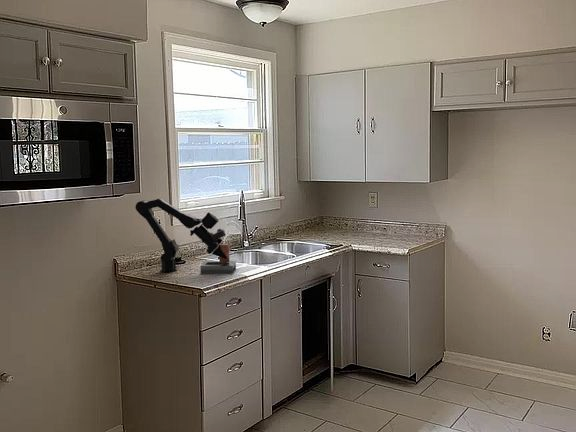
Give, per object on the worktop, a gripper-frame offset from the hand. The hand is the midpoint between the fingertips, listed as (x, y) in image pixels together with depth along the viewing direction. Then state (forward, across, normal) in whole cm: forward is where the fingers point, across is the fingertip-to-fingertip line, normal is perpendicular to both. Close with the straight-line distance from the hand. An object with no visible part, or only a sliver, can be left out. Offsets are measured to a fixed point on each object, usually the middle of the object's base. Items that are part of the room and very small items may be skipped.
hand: (227, 257), depth 305 cm
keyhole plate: (+2, 0, +8) cm, 8 cm away
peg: (+4, 0, +6) cm, 7 cm away
